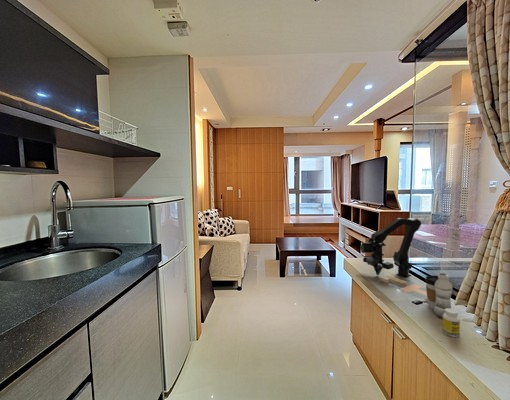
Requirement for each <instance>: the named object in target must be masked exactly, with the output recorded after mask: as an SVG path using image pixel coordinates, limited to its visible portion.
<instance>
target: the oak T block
mask: <svg viewBox="0 0 510 400" xmlns="http://www.w3.org/2000/svg"><path fill="white" fill-rule="evenodd" d="M400 279H401V278H399V276H398V275H396V274H392V273H391V274H387V275H385V276H383V277H379V280H380V281H381V282H380V283H382V282H384V283H388V282H392V283H395V284H397V285H400V286H406V285H407V282H408V281H407V282H406V280H404V279H401V280H400ZM403 280H404V281H403ZM384 283H383V284H384Z"/></svg>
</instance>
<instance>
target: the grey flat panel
mask: <svg viewBox="0 0 510 400" xmlns="http://www.w3.org/2000/svg"><path fill="white" fill-rule="evenodd" d="M399 279H400V280H403V281H406V280H404V279H401V278H399ZM376 282H379V283H382V284H384V285H387V286H389V287H392V288H395V289H397V290H399V291H402V292H406V293H408V294H411V295H412V296H416V297H418V298H421V299H424V300H425V301H426V302H428V299H427V291H426V287H424V286H421V285H418V284H416V283H412V282H410V281H406V282H407V285H406V286H400V285H397V284H395V283H392V282H388V283H384V282H381V281H380V279H377V280H376Z"/></svg>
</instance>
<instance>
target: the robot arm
mask: <svg viewBox="0 0 510 400" xmlns="http://www.w3.org/2000/svg"><path fill="white" fill-rule="evenodd" d="M402 225H405V233H404V236H403V239H402V241H401V245H400V247H399V250H398V251H395V252H394V254H393V256H392V257H393V262H394V263H395V264H396V265H397V266H398V267H397V273H395V275H396V276H398V277H401V278H404V279H406V278H409V277H412V274H410V270H411V269H412V267H413V266H412V264H411V263H409V251H410V248H411V244H412V241H413V239H414V236H415V233H416V232H417V231H419V229H420V227H421V225H422V221H421V220H419V219H417V218H413V217H409V218H401V217H396V219H395V220H394V221H392V222H390V223H389V224H388V225H386V226H385V227H384V228H383V229H381V230H377V231H375V232H373V233H372V234H371V236H370V238H369V239H368V240H367V242H361V244H360V249H359V250H360V252H361V253H362V254H368V253H369V254H370V253H371V254H370V256H365V257H364V256H363V258H362V262H364V263H366V264H367V265H370V266H371V267H373V269H374V272H375V273H376V275H377V276H379V275H380V273H381V272H382V270H383V269H386V270H390V269H393V268H394V266H395V265H394V263H391V262H388V261H386V262H384V259H383V257H384V256H385V255H384V253H383V247H386V246H387V245H386V244H385V242H384V241H386V239H387V237H388V236H389V235H390V234H392V233H393V232H394V231H396V230H397V229H398V228H400V227H401V226H402Z"/></svg>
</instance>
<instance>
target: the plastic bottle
mask: <svg viewBox="0 0 510 400" xmlns="http://www.w3.org/2000/svg"><path fill="white" fill-rule="evenodd" d="M437 276H438V278H439V279H438V280H437V281H436V282H435V291H436V301H435V306H434V309H433V312H434V313H435V315H436V316H438V317H439V318H442V319H443V314H444V313H445V309H446V308H450V309H452V302H451V299H452V298H451V297H452V293H453V285H452V283H451V282H450V281H449V280H450V278H449V274H447V273H443V272H438V273H437Z"/></svg>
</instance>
